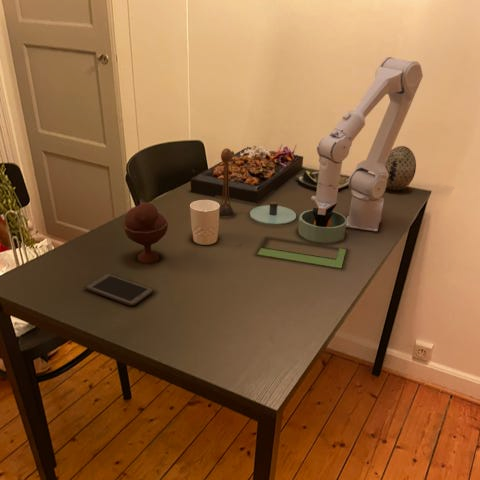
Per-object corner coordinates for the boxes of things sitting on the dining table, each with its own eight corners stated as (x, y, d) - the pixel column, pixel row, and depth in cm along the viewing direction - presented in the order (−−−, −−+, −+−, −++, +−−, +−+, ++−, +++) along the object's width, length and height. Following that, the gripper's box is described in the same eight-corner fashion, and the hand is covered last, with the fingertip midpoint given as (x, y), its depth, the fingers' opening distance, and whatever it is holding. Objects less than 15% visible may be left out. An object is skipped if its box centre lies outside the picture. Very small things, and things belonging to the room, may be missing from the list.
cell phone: (107, 275, 112) (107, 273, 112) (154, 292, 107) (153, 289, 106) (85, 289, 107) (84, 286, 107) (132, 307, 102) (132, 304, 101)
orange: (331, 230, 137) (333, 214, 134) (328, 237, 133) (331, 221, 130) (314, 228, 138) (316, 212, 135) (311, 235, 134) (313, 218, 131)
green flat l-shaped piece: (346, 250, 128) (346, 249, 127) (341, 268, 119) (341, 267, 119) (267, 238, 132) (267, 237, 132) (257, 255, 124) (257, 254, 123)
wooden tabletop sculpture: (225, 209, 148) (226, 144, 137) (237, 213, 146) (239, 147, 135) (214, 215, 144) (215, 148, 133) (227, 219, 142) (228, 151, 131)
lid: (299, 212, 149) (301, 197, 146) (290, 229, 137) (292, 214, 135) (256, 206, 152) (257, 191, 149) (244, 222, 141) (244, 207, 138)
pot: (346, 228, 139) (349, 212, 137) (341, 247, 129) (344, 230, 126) (302, 222, 142) (304, 206, 139) (294, 240, 132) (295, 223, 129)
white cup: (215, 247, 127) (215, 212, 121) (187, 244, 128) (186, 209, 122) (222, 235, 133) (222, 201, 127) (195, 232, 134) (194, 198, 128)
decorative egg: (372, 190, 167) (380, 147, 158) (382, 181, 175) (391, 140, 166) (405, 197, 162) (415, 153, 153) (414, 188, 170) (424, 145, 162)
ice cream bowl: (176, 252, 124) (173, 197, 115) (157, 271, 115) (152, 213, 106) (140, 245, 126) (135, 190, 118) (118, 263, 118) (111, 206, 109)
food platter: (245, 158, 194) (246, 132, 188) (302, 167, 186) (305, 140, 180) (190, 191, 161) (190, 161, 155) (256, 205, 152) (258, 173, 146)
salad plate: (321, 171, 183) (323, 159, 180) (360, 183, 173) (362, 171, 170) (289, 182, 172) (290, 169, 169) (328, 195, 161) (330, 182, 159)
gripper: (317, 173, 134) (312, 218, 141) (309, 189, 122) (303, 237, 130) (342, 176, 132) (335, 221, 140) (336, 193, 121) (328, 241, 128)
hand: (321, 229), depth 135 cm, fingers closed on orange, 5 cm apart
